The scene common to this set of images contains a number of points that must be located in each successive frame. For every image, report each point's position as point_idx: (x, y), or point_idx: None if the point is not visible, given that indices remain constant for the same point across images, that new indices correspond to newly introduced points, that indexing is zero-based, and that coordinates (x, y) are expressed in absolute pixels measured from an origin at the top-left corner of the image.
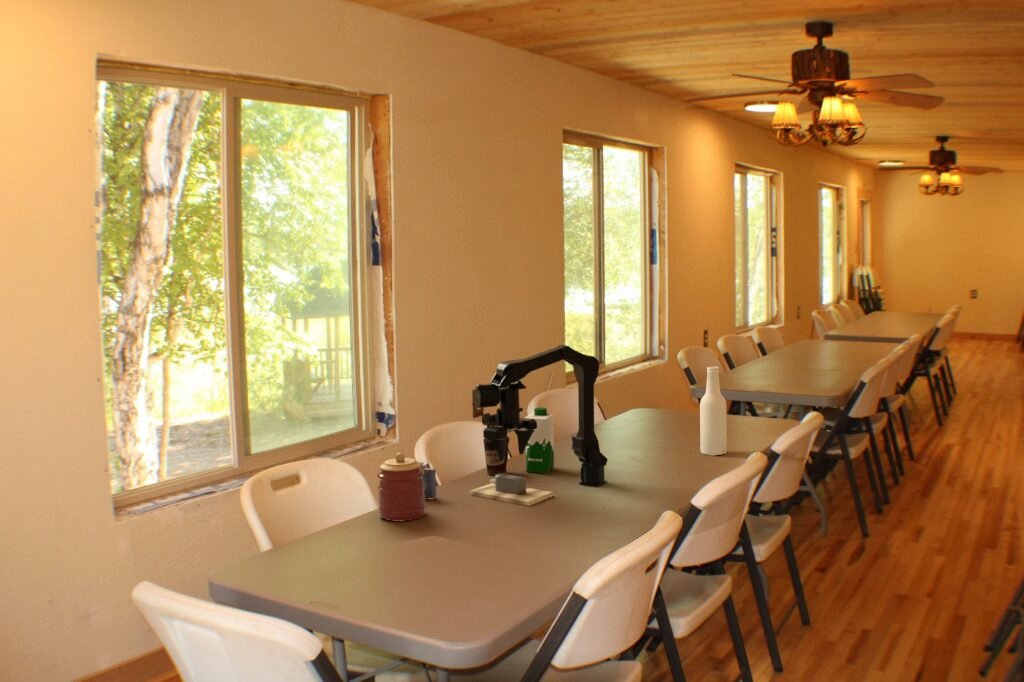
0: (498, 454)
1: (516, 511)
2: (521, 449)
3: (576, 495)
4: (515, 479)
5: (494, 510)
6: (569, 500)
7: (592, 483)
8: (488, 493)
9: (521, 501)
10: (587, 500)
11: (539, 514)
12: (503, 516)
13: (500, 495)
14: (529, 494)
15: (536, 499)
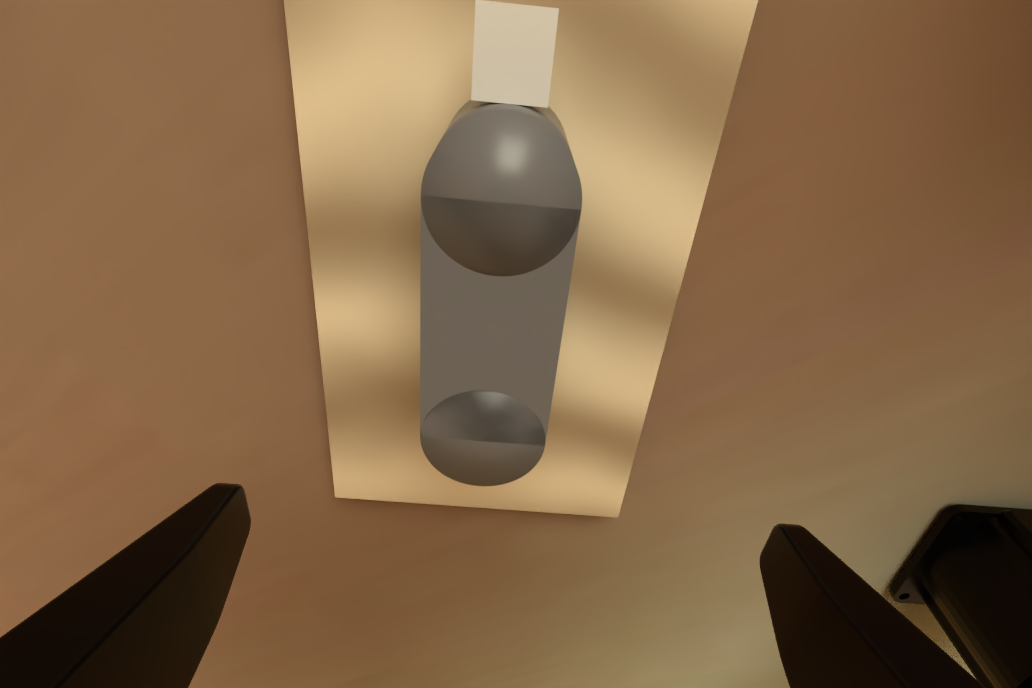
0: (115, 573)
1: (205, 471)
2: (795, 632)
3: (682, 575)
4: (428, 426)
5: (108, 355)
6: (570, 584)
7: (924, 583)
8: (323, 109)
9: (333, 447)
10: (608, 638)
11: (256, 576)
12: (72, 460)
13: (340, 257)
14: None
15: (427, 499)
